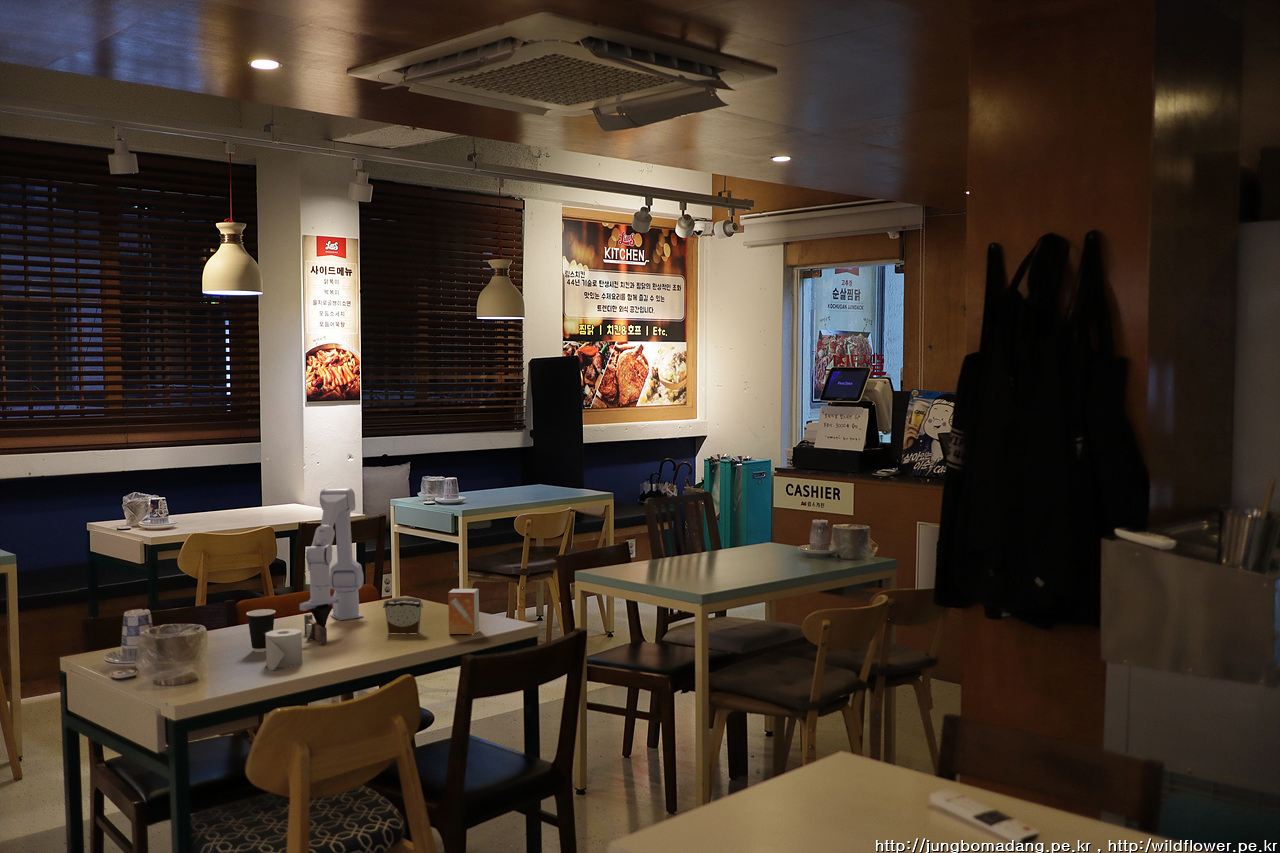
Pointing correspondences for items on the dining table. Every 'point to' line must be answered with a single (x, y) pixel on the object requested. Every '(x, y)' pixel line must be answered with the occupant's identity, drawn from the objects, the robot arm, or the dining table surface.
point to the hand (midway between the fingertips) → (321, 630)
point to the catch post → (310, 631)
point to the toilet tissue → (283, 648)
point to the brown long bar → (319, 632)
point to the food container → (403, 615)
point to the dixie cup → (260, 627)
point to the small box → (463, 611)
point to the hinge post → (306, 618)
